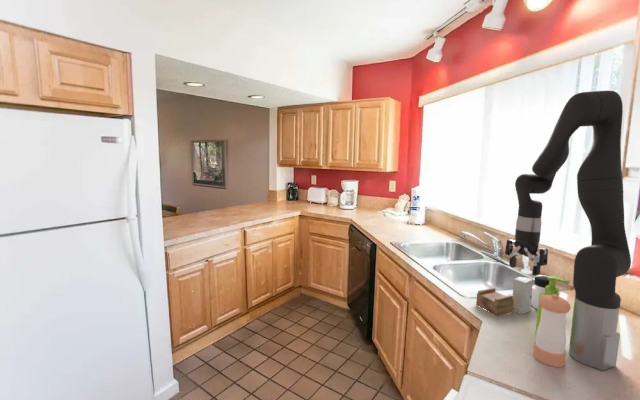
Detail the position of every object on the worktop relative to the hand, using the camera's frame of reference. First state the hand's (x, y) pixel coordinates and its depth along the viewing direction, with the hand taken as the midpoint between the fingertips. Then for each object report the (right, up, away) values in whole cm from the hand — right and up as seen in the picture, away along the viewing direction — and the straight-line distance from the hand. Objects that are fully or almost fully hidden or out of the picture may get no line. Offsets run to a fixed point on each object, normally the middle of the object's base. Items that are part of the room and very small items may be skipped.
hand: (523, 271), depth 112 cm
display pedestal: (-10, -15, +3) cm, 18 cm away
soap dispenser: (-3, -18, -16) cm, 24 cm away
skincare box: (0, -15, +2) cm, 16 cm away
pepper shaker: (-11, -19, -26) cm, 34 cm away
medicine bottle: (+10, -15, +4) cm, 19 cm away
